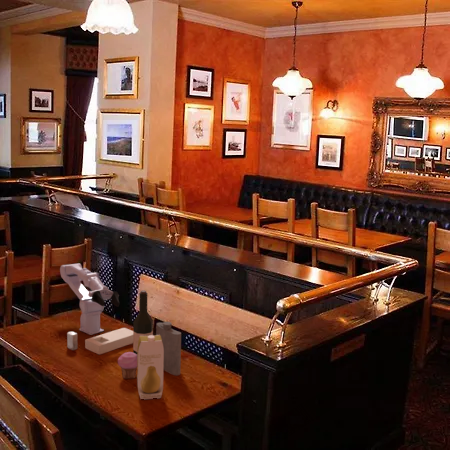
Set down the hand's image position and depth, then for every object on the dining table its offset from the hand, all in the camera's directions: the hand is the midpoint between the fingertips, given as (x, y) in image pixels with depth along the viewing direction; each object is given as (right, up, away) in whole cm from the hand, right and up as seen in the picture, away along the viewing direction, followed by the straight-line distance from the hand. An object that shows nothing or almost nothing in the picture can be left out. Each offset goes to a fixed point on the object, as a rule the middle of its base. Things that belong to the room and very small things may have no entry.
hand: (111, 304), depth 268 cm
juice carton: (+23, -29, -43) cm, 56 cm away
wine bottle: (+16, -22, -9) cm, 28 cm away
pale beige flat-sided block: (0, -19, +4) cm, 19 cm away
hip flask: (+27, -24, -19) cm, 41 cm away
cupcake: (+12, -25, -27) cm, 39 cm away
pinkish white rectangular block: (-17, -19, -1) cm, 26 cm away
